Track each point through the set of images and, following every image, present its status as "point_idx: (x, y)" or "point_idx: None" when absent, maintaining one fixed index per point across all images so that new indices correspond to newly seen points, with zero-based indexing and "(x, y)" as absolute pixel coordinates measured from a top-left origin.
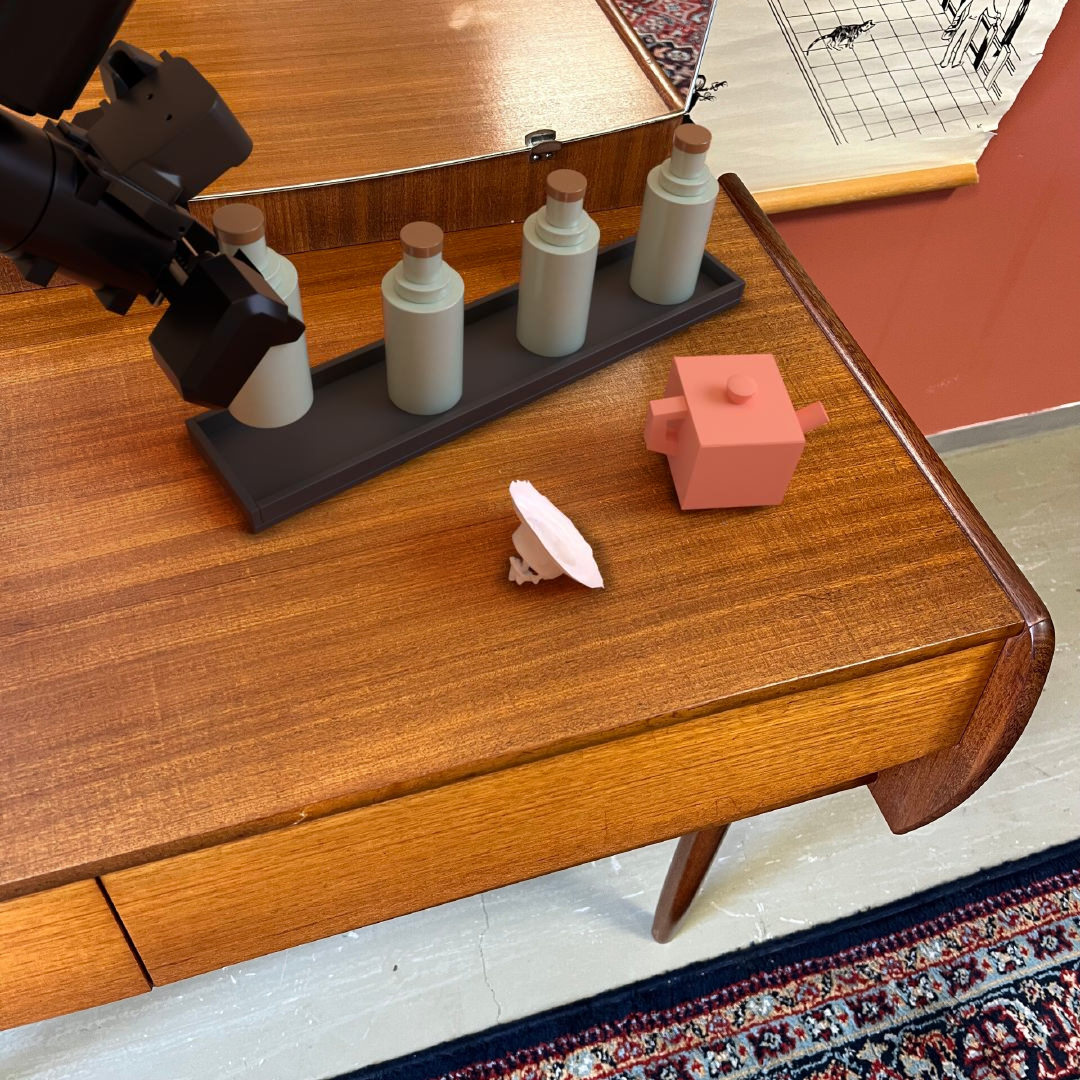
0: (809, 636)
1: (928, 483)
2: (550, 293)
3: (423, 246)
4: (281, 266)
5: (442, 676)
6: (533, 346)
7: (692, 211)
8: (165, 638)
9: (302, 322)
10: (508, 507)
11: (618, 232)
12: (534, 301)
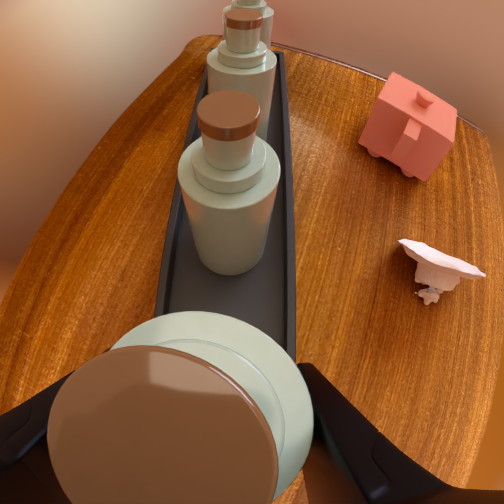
0: (488, 197)
1: None
2: (261, 105)
3: (254, 116)
4: (201, 338)
5: (458, 382)
6: None
7: (271, 19)
8: None
9: (305, 365)
10: (372, 265)
11: (185, 71)
12: None
